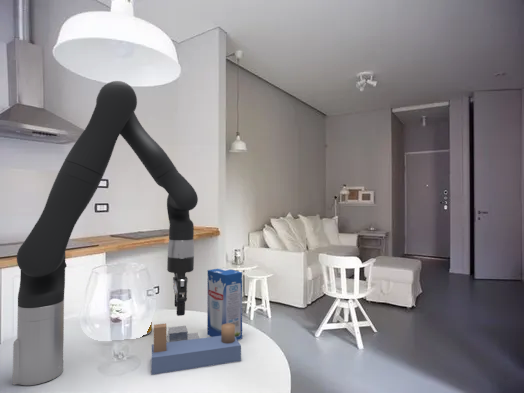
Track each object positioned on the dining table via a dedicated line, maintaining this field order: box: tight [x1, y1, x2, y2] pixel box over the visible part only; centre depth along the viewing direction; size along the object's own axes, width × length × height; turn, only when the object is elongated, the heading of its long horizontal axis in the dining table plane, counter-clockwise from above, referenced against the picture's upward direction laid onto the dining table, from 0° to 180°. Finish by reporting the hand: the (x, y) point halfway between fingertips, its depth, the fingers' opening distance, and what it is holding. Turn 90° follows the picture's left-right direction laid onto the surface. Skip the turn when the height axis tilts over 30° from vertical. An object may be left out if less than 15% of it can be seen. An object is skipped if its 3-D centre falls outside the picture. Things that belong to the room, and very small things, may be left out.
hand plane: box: [150, 322, 242, 376], centre depth 86 cm, size 22×8×10 cm, turn 108°
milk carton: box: [206, 267, 243, 341], centre depth 102 cm, size 10×6×20 cm, turn 41°
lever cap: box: [166, 325, 200, 343], centre depth 97 cm, size 9×5×4 cm, turn 109°
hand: (179, 310), depth 97 cm, fingers open, 8 cm apart
